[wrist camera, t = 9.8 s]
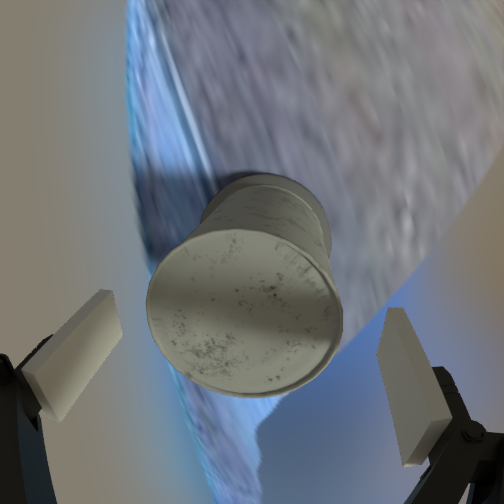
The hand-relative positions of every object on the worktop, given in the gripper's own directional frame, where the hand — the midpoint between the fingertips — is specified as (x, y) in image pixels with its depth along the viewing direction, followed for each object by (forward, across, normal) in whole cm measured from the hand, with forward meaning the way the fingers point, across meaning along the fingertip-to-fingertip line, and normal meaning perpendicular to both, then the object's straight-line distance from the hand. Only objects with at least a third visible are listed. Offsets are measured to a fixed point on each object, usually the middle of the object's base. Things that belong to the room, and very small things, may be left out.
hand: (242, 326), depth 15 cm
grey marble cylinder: (+13, 0, -1) cm, 13 cm away
